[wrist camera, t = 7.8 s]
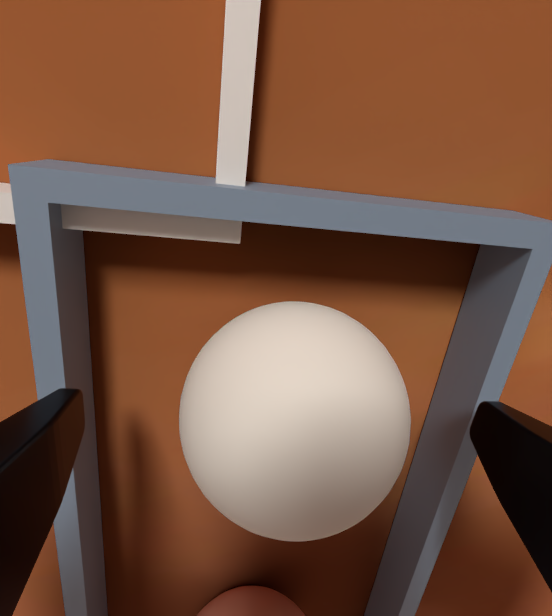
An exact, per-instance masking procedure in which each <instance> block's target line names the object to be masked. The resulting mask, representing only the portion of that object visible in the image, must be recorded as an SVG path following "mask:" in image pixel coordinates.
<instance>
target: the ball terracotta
mask: <svg viewBox="0 0 552 616" xmlns="http://www.w3.org/2000/svg"><path fill="white" fill-rule="evenodd" d="M196 616H305V614H304V613H303V612H302V611H301V609H300V608H299V607H298V606H297V605H296V604H295V603H294V602H293V601H291V600H290V599H289V598H287V597H286V596H285V595H283V594H281V593H280V592H277V591H275V590H273V589H270V588H267V587H262V586H242V587H237V588H234V589H231V590H228V591H226V592H224V593H222V594H220V595H218V596H217V597H216V598H214V599H213V600H211V601H210V602H209V603H208V604H207V605H206V606H205V607H204V608H203V609H202V610H201V611H200V612H199V613H198V614H197V615H196Z"/></svg>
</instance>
